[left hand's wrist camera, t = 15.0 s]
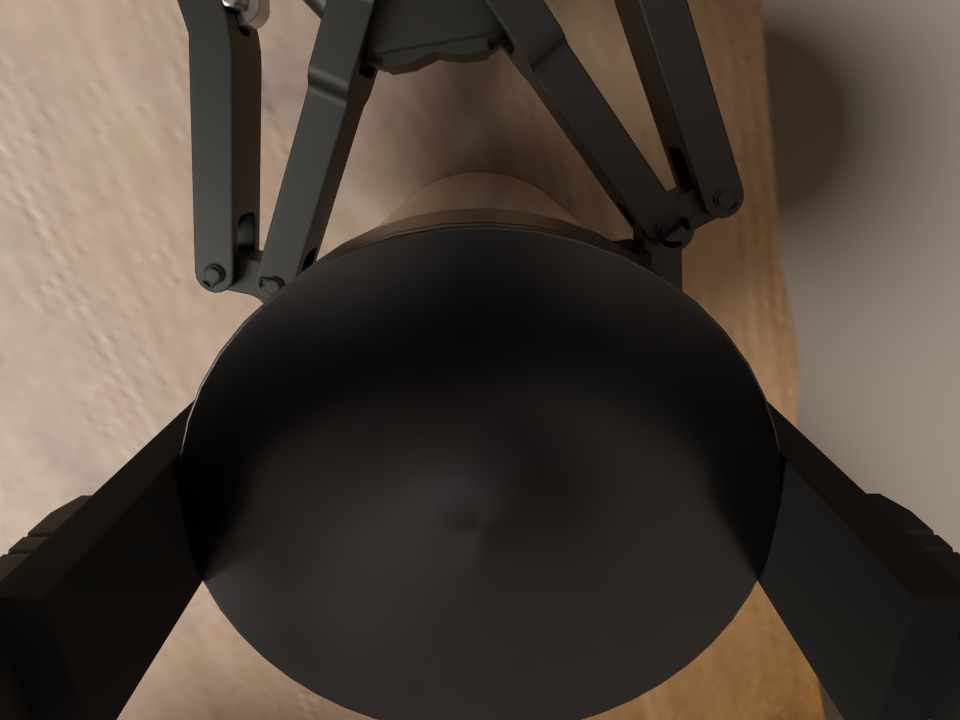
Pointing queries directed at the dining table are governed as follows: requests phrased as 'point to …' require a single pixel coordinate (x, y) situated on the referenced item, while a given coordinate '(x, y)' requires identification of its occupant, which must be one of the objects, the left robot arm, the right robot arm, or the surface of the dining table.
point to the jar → (480, 197)
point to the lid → (480, 473)
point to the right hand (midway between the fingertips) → (496, 436)
